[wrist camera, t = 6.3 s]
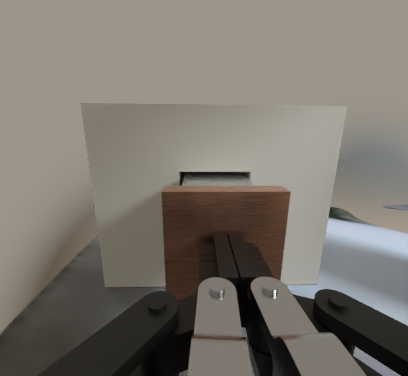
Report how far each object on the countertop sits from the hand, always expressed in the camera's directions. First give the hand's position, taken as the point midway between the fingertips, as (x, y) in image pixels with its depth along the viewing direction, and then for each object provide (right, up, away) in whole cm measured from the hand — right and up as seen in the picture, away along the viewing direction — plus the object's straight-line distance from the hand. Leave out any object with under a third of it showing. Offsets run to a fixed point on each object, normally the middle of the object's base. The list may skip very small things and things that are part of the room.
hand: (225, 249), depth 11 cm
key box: (0, -5, +13) cm, 14 cm away
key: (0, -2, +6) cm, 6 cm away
